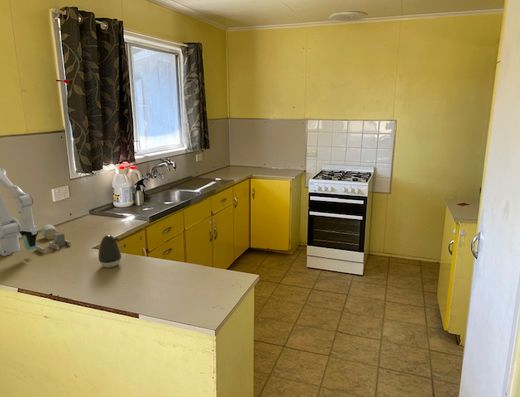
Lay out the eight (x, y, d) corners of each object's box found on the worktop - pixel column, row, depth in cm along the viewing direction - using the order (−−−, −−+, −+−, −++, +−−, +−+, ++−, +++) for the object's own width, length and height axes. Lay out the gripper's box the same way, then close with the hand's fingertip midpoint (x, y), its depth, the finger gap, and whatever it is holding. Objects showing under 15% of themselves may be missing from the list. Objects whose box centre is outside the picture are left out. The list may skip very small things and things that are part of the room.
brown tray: (44, 255, 198) (43, 249, 197) (36, 251, 203) (35, 245, 202) (71, 247, 209) (70, 241, 208) (63, 243, 214) (62, 238, 213)
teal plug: (28, 250, 191) (26, 236, 189) (25, 248, 193) (22, 235, 192) (37, 247, 194) (35, 234, 192) (33, 246, 197) (31, 233, 195)
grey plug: (58, 248, 206) (56, 235, 204) (54, 246, 208) (52, 234, 206) (65, 245, 209) (64, 233, 207) (62, 244, 211) (60, 232, 209)
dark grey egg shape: (115, 270, 180) (111, 239, 176) (94, 268, 182) (91, 238, 178) (126, 262, 189) (123, 232, 186) (107, 260, 191) (104, 231, 188)
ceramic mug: (45, 242, 217) (43, 228, 215) (41, 238, 223) (39, 225, 221) (65, 237, 224) (64, 225, 222) (61, 234, 230) (59, 222, 228)
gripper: (41, 219, 189) (45, 246, 192) (28, 214, 197) (32, 239, 201) (26, 223, 183) (30, 250, 187) (13, 217, 192) (17, 243, 195)
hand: (30, 245), depth 193 cm, fingers closed on teal plug, 4 cm apart
